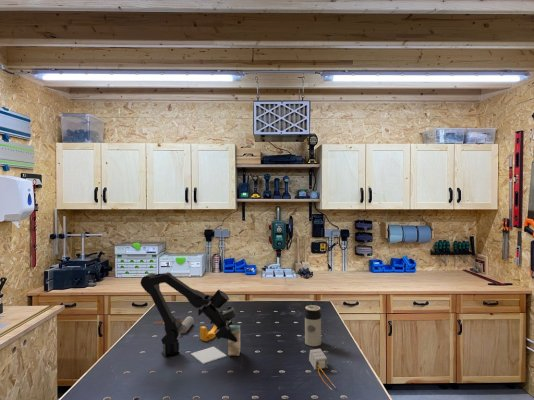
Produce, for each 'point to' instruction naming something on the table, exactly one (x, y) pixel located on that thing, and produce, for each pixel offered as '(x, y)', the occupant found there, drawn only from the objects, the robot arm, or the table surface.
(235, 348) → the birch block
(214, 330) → the pipe clamp
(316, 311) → the travel mug
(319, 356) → the electrical component
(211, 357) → the grey pad
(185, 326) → the motor
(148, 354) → the table surface
